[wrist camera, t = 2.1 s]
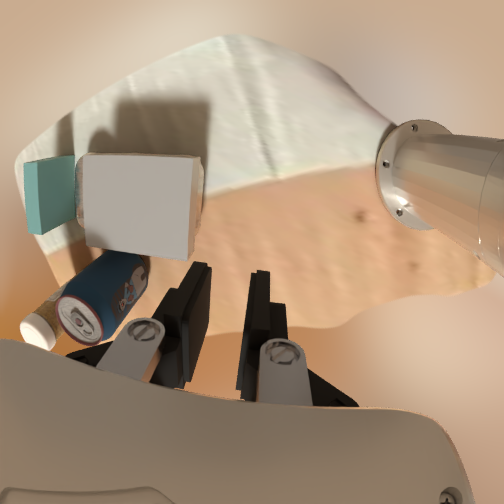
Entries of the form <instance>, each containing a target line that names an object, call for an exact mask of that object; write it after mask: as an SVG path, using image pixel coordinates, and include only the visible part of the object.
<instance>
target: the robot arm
mask: <svg viewBox="0 0 504 504" xmlns="http://www.w3.org/2000/svg"><path fill="white" fill-rule="evenodd" d="M411 126H412V127H413V129H412V128H411ZM383 161H384V162H385V165H384V166H383ZM376 182H377V188H378V192H379V195H380V198H381V200H382V202H383V204H384V206H385V208H386V209H387V210H388V212H389V213H390V214H391V215H392V216H393V217H394V218H395V219H396V220H397V221H398V222H400V223H401V224H403V225H404V226H407V227H409V228H411V229H415V230H431V229H436V230H438V231H440V232H441V233H443V234H444V235H446V236H447V237H449V238H450V239H452V240H453V241H454V242H456V243H457V244H459V245H460V246H462V247H463V248H465V249H466V250H467V251H469V252H470V253H472V254H473V255H474V256H476V257H477V258H478V259H480V260H481V261H482V262H484V263H485V264H486V265H488V266H489V267H490V268H492V269H493V270H494V271H496V272H497V273H499V274H500V275H501V276H502V277H504V139H497V138H488V137H478V136H465V135H453V134H452V133H451V132H450V131H449V130H447V129H446V128H445V127H444V126H442V125H440V124H438V123H436V122H433V121H429V120H411V121H408V122H405V123H403V124H401V125H399V126H398V127H396V128H395V129H394V130H393V131H392V132H391V133H390V134H389V135H388V136H387V138H386V139H385V141H384V142H383V144H382V146H381V149H380V151H379V154H378V158H377V163H376ZM397 210H398V212H397V213H396V211H397ZM211 274H212V267H208V266H207V263H203V262H196V261H194V262H193V264H192V265H191V267H190V269H189V270H188V272H187V274H186V276H185V277H184V279H183V281H182V282H181V284H180V286H179V288H178V289H176V288H170V289H169V290H168V292H167V293H166V295H165V296H164V298H163V300H162V301H161V303H160V304H159V306H158V308H157V309H156V311H155V313H154V314H153V316H152V317H151V318H137V319H134V320H132V321H130V322H128V323H127V324H126V325H125V326H124V328H123V329H122V330H121V332H120V333H119V334H118V336H117V337H116V339H115V340H114V341H110V342H107V343H104V344H100V345H96V346H93V347H89V348H86V349H82V350H79V351H75V352H72V353H70V354H67V355H66V356H62V355H60V354H57V353H54V352H51V351H49V350H46V349H43V348H41V347H38V346H35V345H33V344H29V343H26V342H23V341H17V340H12V339H0V504H475V501H474V497H473V493H472V490H471V487H470V483H469V480H468V477H467V474H466V472H465V469H464V466H463V464H462V461H461V459H460V456H459V454H458V452H457V450H456V447H455V445H454V444H453V442H452V440H451V438H450V436H449V435H448V433H447V431H446V430H445V429H444V427H443V426H442V425H441V424H440V423H439V422H438V421H436V420H434V419H433V418H431V417H428V416H426V415H423V414H421V413H417V412H413V411H409V410H403V409H394V408H379V407H359V405H358V404H357V402H355V401H354V400H353V399H352V398H350V397H349V396H347V395H346V394H344V393H343V392H341V391H340V390H338V389H337V388H335V387H334V386H332V385H331V384H330V383H328V382H326V381H325V380H324V379H322V378H321V377H319V376H318V375H317V374H315V373H314V372H312V371H311V370H309V369H308V368H307V364H306V357H305V353H304V350H303V349H302V348H301V347H300V346H299V345H298V344H296V343H295V342H292V341H290V340H288V332H287V318H286V306H285V304H282V303H274V302H270V272H269V271H262V270H257V273H251V280H250V287H249V294H248V302H247V309H246V316H245V323H244V331H243V339H242V346H241V353H240V361H239V368H238V375H237V383H236V390H241V397H240V399H244V400H245V401H244V400H236V399H229V398H222V397H216V396H210V395H204V394H198V393H193V392H188V391H182V390H178V389H173V388H180V389H184V386H185V383H186V382H191V380H192V376H193V373H194V370H195V367H196V363H197V360H198V357H199V354H200V350H201V347H202V344H203V341H204V338H205V334H206V331H207V328H208V323H209V309H210V291H211Z"/></svg>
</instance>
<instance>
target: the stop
mask: <svg viewBox="0 0 504 504" xmlns="http://www.w3.org/2000/svg"><path fill="white" fill-rule="evenodd" d="M74 157H75V155H67V156H57V157H51V158H46V159H41V160H36V161H32V162H27V163H24V191H25V205H26V216H27V225H28V232H29V233H33V234H39V235H43V234H45V233H46V232H48V231H50V230H52V229H54V228H56V227H58V226H60V225H61V224H63V223H65V222H67V221H69V220H71V219H73V218H75V217H76V214H75V191H74Z"/></svg>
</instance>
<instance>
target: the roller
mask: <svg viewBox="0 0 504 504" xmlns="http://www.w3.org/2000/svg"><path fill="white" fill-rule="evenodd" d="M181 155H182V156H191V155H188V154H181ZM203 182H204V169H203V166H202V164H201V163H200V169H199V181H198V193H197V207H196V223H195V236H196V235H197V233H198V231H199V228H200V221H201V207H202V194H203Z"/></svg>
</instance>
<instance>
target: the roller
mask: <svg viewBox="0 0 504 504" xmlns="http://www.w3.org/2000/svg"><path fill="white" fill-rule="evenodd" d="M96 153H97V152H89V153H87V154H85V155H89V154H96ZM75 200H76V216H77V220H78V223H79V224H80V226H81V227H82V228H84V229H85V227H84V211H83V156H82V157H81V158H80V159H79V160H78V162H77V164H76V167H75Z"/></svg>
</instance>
